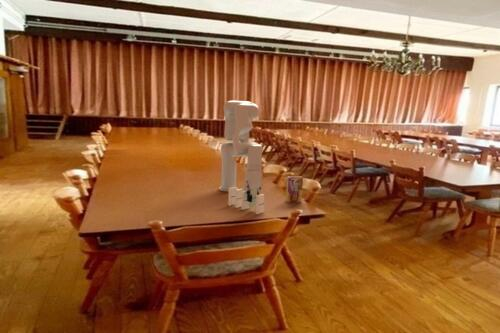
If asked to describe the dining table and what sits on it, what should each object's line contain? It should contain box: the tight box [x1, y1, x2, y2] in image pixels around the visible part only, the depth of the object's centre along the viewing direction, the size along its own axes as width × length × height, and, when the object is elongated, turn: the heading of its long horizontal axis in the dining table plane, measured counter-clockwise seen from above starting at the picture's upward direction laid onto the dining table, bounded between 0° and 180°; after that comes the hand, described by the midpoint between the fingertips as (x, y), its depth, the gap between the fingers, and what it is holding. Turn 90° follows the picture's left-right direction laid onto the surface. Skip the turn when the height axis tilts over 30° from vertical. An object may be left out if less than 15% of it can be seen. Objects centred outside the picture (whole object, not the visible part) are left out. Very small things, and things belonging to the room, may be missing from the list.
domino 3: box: [240, 190, 250, 211], centre depth 190 cm, size 2×5×10 cm, turn 140°
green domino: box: [249, 188, 258, 209], centre depth 186 cm, size 2×5×10 cm, turn 139°
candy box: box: [285, 175, 304, 203], centre depth 207 cm, size 9×4×15 cm, turn 96°
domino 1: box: [227, 186, 237, 207], centre depth 196 cm, size 2×5×10 cm, turn 140°
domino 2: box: [234, 187, 244, 209], centre depth 193 cm, size 2×5×10 cm, turn 139°
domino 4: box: [255, 193, 265, 215], centre depth 183 cm, size 2×5×10 cm, turn 139°
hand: (252, 200), depth 186 cm, fingers closed on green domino, 4 cm apart
